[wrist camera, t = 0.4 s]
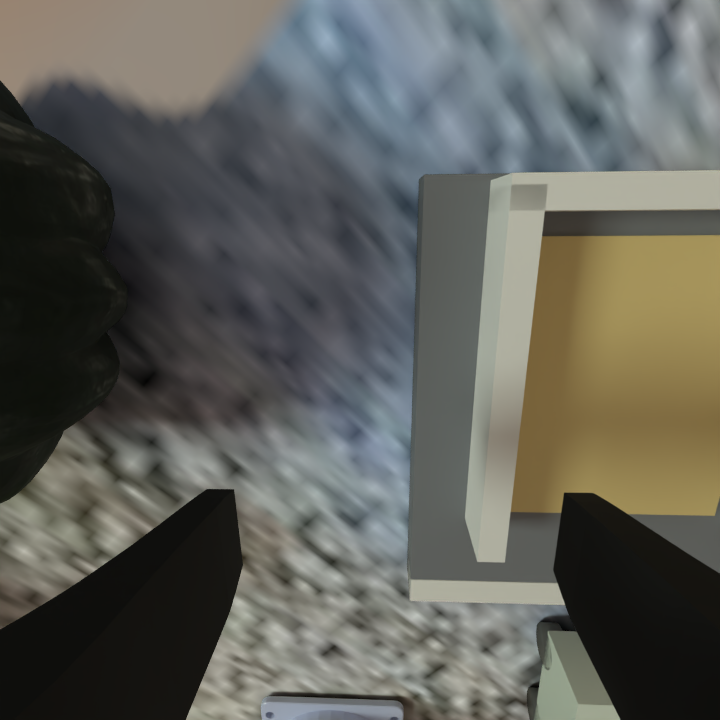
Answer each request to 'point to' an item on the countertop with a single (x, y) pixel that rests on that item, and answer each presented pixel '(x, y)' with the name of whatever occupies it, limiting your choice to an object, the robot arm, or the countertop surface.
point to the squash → (50, 294)
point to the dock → (560, 371)
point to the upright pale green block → (567, 680)
